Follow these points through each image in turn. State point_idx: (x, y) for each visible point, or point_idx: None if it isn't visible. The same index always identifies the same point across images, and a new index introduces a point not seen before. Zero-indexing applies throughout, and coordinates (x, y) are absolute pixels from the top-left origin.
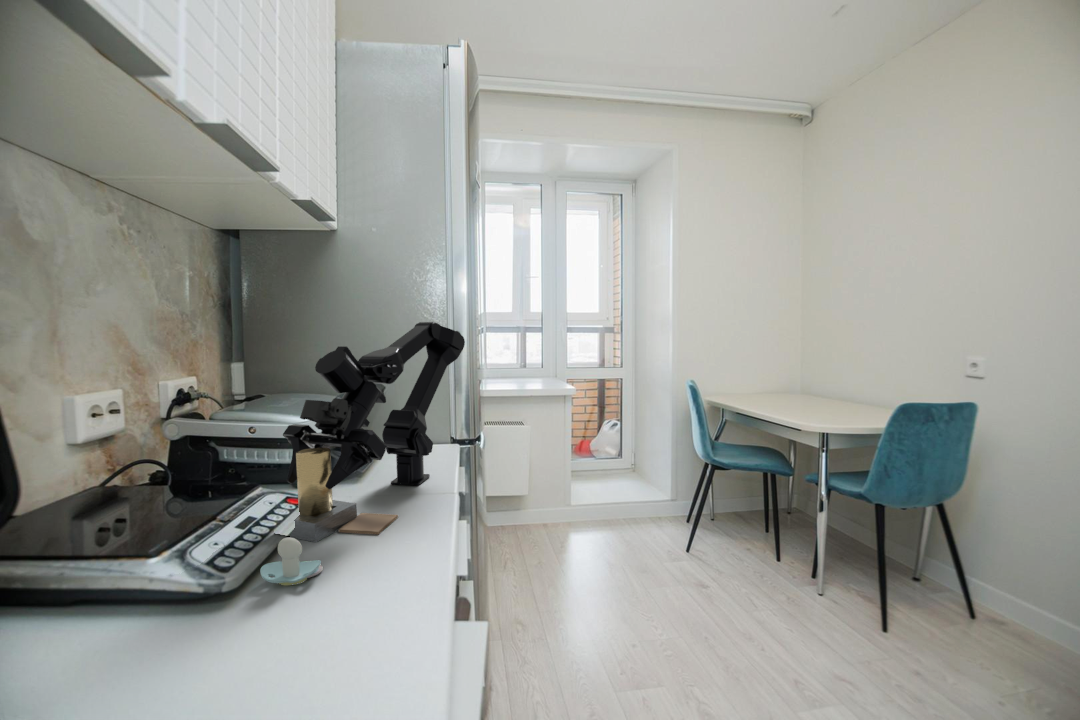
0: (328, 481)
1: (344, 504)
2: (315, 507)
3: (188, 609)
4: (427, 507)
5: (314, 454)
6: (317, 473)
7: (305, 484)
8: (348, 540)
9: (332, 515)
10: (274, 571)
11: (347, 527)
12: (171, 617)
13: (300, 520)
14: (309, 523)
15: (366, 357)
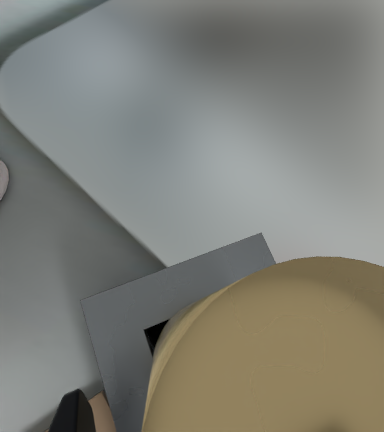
0: (63, 417)
1: None
2: (158, 339)
3: (21, 42)
4: None
5: (173, 413)
6: (149, 381)
7: (188, 307)
8: (16, 384)
9: (105, 386)
10: None
11: None
12: (19, 24)
13: (150, 277)
14: (105, 291)
15: None
